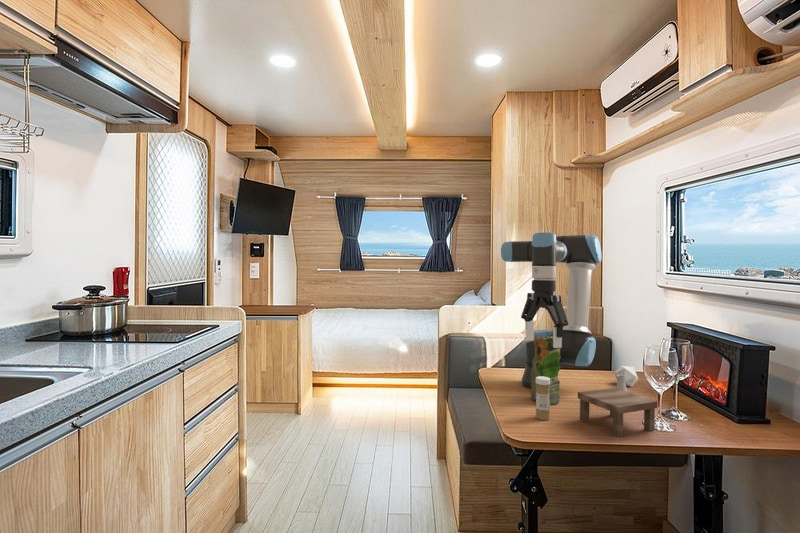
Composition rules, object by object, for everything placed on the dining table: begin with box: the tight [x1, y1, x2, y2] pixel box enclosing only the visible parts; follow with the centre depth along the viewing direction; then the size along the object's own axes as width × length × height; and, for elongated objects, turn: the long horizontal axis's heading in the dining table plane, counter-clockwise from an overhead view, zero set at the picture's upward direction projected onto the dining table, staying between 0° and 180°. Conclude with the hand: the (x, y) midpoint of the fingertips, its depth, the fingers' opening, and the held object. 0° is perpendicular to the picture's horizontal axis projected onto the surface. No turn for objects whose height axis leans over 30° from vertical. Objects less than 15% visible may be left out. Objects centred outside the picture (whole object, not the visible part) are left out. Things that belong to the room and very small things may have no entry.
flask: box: [615, 375, 629, 392], centre depth 159 cm, size 7×7×10 cm
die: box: [614, 365, 639, 388], centre depth 183 cm, size 8×9×10 cm
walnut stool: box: [577, 386, 658, 438], centre depth 137 cm, size 16×16×9 cm
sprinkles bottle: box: [535, 376, 551, 421], centre depth 143 cm, size 5×5×14 cm
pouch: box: [530, 335, 561, 406], centre depth 161 cm, size 11×12×25 cm
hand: (543, 343), depth 143 cm, fingers open, 13 cm apart
